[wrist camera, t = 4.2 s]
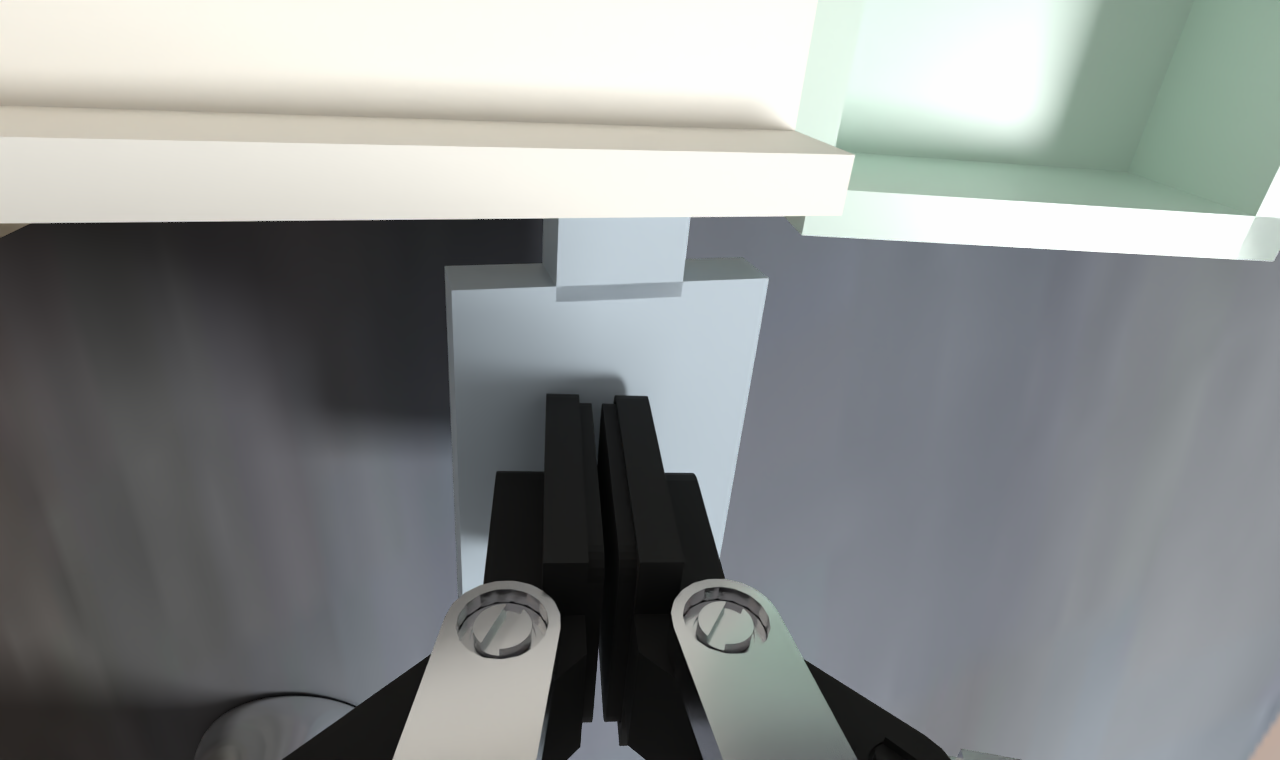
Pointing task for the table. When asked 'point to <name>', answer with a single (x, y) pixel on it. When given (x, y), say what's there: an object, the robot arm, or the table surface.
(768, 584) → the table surface
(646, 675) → the robot arm
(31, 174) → the lever
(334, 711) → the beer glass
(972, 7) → the tray
